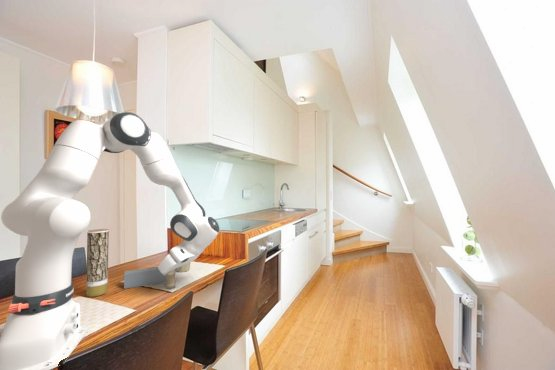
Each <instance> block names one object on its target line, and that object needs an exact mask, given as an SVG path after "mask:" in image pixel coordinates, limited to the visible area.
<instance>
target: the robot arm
mask: <svg viewBox="0 0 555 370" xmlns="http://www.w3.org/2000/svg"><path fill="white" fill-rule="evenodd" d="M128 150H130V151H131V152H133V154H135V156H137V158H138V159H139V162H140V164H141V167H142V169H143V171H144V173H145V175H146V177H147V178H148V179H149V180H150V181H151V182H152V183H154V184H156V185H159V186H165V187H168V188H169V189H171V191H172V192H173V194H174V195H175V197H176V199H177V201H178V202H179V204H180V211H179V212H177V213H176V214H174V216H173V217H172V218H171V220H170V222H169V225H170V230H171V231H172V232H173V234H174V235H175V236H177V237H179V238H180V239H182V240H183V241H181V242H180V243H179V244H177V245H176V246H173V247H172V248H171V249H170V250H169V253H168V254H167V255H165V257H164V258H163V259H162V260H161V261H160V263H158V265H157V267H158V269H159V271H160V272H161V273H162V274H163V275H164V276H165V275H167V274H168V273H169V271H172V270H174V269H175V272H177V271H176V270H178V269H179V268H180V267H181V266H183V265H185V264H187V263H189V262H190V263H191V262H194V261H196V260H197V258H198V257H200V255H201V254H202V253H203V252H204V251H205V249H206V248H207V247H208V246H210V245H211V243H213V241H214V240H215V239H216V238H217V236H218V235H219V233H220V226H219V223H218V221H217V220H216V219H215V218H213V217H212V216H206V211H205V209H204V207H203V206H202V205H201V204H200V203H199V202H198V201H197V199H196V198H195V197H194V194H193V193H192V191H191V189H190V187H189V185H188V183H187V181H186V179H185V178H184V176H183V175H182V173H181V171H180V169H179V167H178V166H177V164H176V162H175V159H174V157H173V155H172V152H171V151H170V148H169V147H168V145H167V143H166V142H165V140H164V138H162V136H161V135H160V134H159V133H157V132H155V131H153V132H152V130H151V129H150V127H149V126H147V124H146V122H145V121H144V119H143V118H141V117H140V116H139V115H138V114H136V113H133V112H131V111H130V112H129V111H127V112H124V111H123V112H120V113H117V114H115V115H114V116H113V117H110V118H108V119H107V120H105V121H104V122H103V123H102V124H96V123H95V122H92V121H89V120H87V119H77V120H74V121H72V122H70V123H69V124H68V126H67V127H66V128H64V131H62V133H61V134H60V135H59V136H58V138H57V140H56V141H55V143H54V145H53V147H52V149H51V150H50V153H49V154H48V156H47V158H46V160H45V161H44V164H43V165H42V167H41V168H40V170H39V171H38V173H37V174H36V176H34V177H33V179H32V180H31V181H30V182H29V183H28V184H27V186H26V187H25V188H24V189H23V191H21V193H20V194H19V195H18V196H17V197H16V198H15V199H14V200H13V201H12V202H9V204H8V205H6V206H5V208H3V210H2V212H1V218H0V219H1V222H2V224H3V225H4V227H5V228H7V229H8V230H9V231H11V232H13V233H14V234H17V235H20V236H23V237H24V236H25V237H27V242H26V245H25V248H24V252H23V253H22V255H21V257H20V258H19V260H18V261H17V262H16V264H15V279H14V281H15V282H14V287H15V288H14V294H13V295H12V299H11V302H10V304H9V306H8V310H7V313H8V314H7V316H6V321H5V323H4V327H3V328H2V329H3V330H2V332H1V335H0V370H54V369H55V368H57V367H59V366H58V364H59V362H60V361H61V360H63V359H65V358H67V357H68V358H69V357H70V356H71V354H72V353H73V351H74V350H75V349H76V347H77V346H78V345H79V343H81V341H82V340H83V339H84V338H85V336H86V335H87V333H88V327H87V326H81V310H80V309H81V307H80V305H81V304H80V303H78V301H76V300H74V298H73V297H74V291H75V290H74V289H75V288H74V283H73V282H72V269H73V268H72V267H73V266H72V265H73V256H74V252H75V249H76V245H77V243H78V240H79V237H80V236H81V234H82V233H84V231H86V229H87V228H88V227H89V226H90V225H89V224H90V222H91V219H92V217H91V216H92V215H91V211H90V209H89V207H88V206H87V205H86V204H84V203H83V202H81V201H79V200H77V199H74V197H75V196H76V195H77V194H78V193H80V191H82V190H83V189H84V188H86V187H87V186H88V184H89V183H90V181H91V179H92V177H93V174H94V173H95V169H96V168H97V166H98V163H99V161H100V158H101V155H102V153H103V152H106V153H110V154H120V153H123V152H125V151H128ZM68 358H67V359H68Z"/></svg>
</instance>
